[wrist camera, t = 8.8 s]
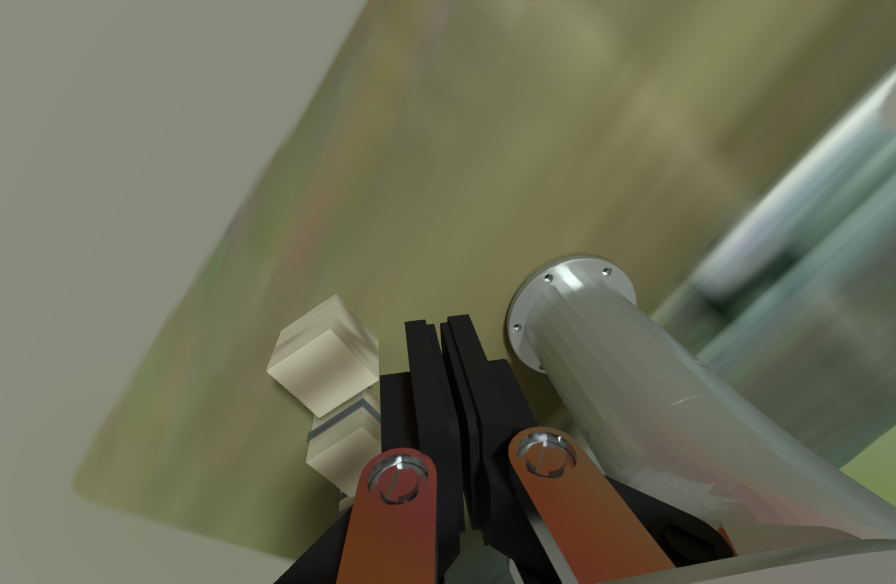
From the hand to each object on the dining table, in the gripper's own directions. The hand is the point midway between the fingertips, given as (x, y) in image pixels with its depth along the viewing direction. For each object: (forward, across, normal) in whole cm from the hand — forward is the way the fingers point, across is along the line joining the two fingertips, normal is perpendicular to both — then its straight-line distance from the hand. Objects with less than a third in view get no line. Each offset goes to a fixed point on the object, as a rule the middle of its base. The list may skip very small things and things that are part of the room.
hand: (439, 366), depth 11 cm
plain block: (+25, +7, +13) cm, 29 cm away
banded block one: (+25, +6, +23) cm, 35 cm away
